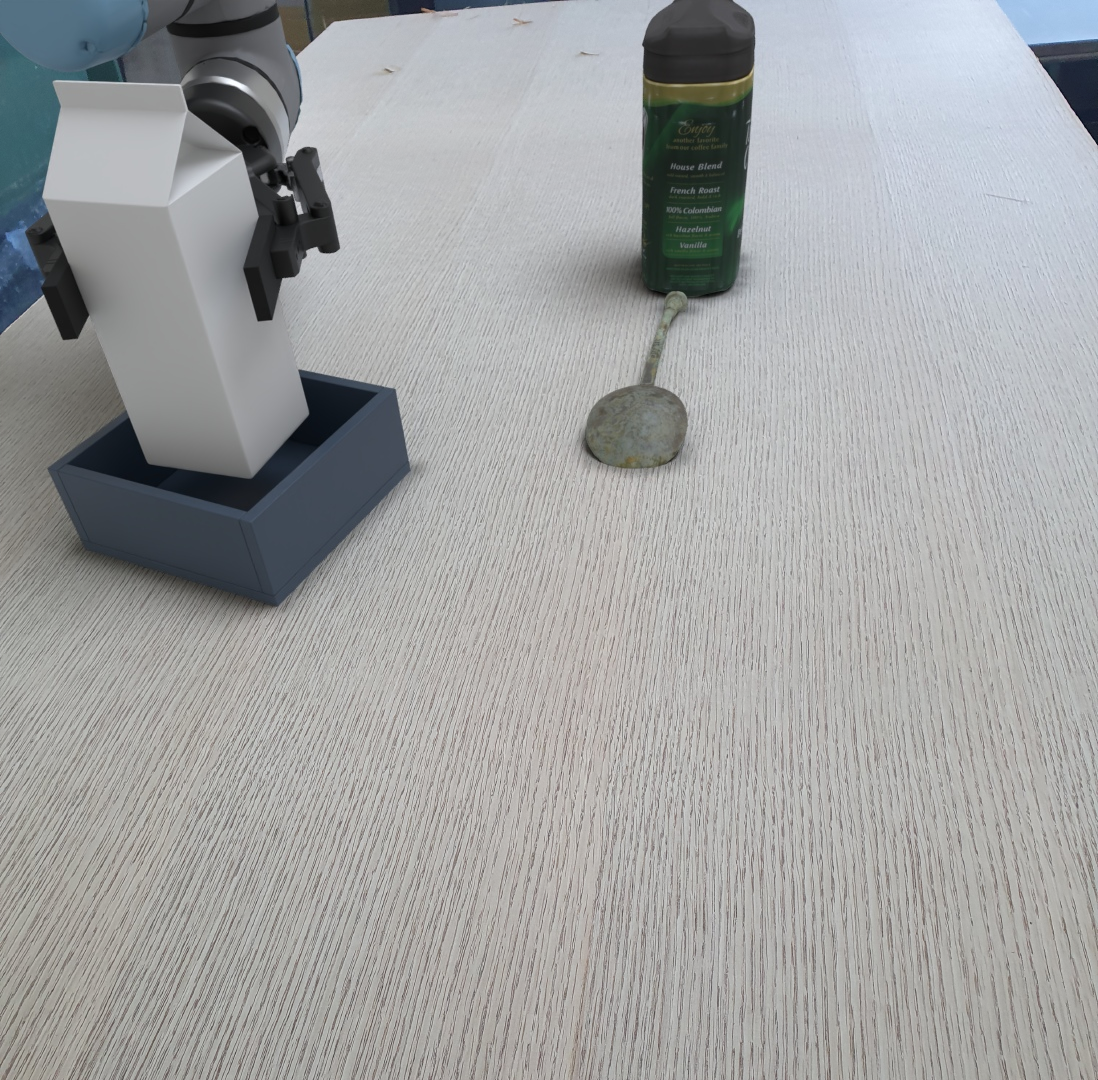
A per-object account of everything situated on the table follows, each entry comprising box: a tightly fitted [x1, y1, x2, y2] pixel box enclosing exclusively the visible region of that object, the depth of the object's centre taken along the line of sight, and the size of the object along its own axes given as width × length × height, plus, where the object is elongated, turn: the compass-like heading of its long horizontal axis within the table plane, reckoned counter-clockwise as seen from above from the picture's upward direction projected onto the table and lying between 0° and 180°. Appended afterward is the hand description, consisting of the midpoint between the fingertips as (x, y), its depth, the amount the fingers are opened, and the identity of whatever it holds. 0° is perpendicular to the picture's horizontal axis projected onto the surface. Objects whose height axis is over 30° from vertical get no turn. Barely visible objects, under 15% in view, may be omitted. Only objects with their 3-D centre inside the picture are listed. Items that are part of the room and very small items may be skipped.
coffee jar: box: [640, 0, 756, 298], centre depth 79 cm, size 10×8×19 cm
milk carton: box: [42, 79, 309, 479], centre depth 57 cm, size 7×7×19 cm
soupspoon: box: [584, 291, 689, 470], centre depth 74 cm, size 22×3×7 cm
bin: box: [47, 368, 412, 607], centre depth 65 cm, size 15×15×6 cm
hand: (158, 304), depth 53 cm, fingers closed on milk carton, 9 cm apart
